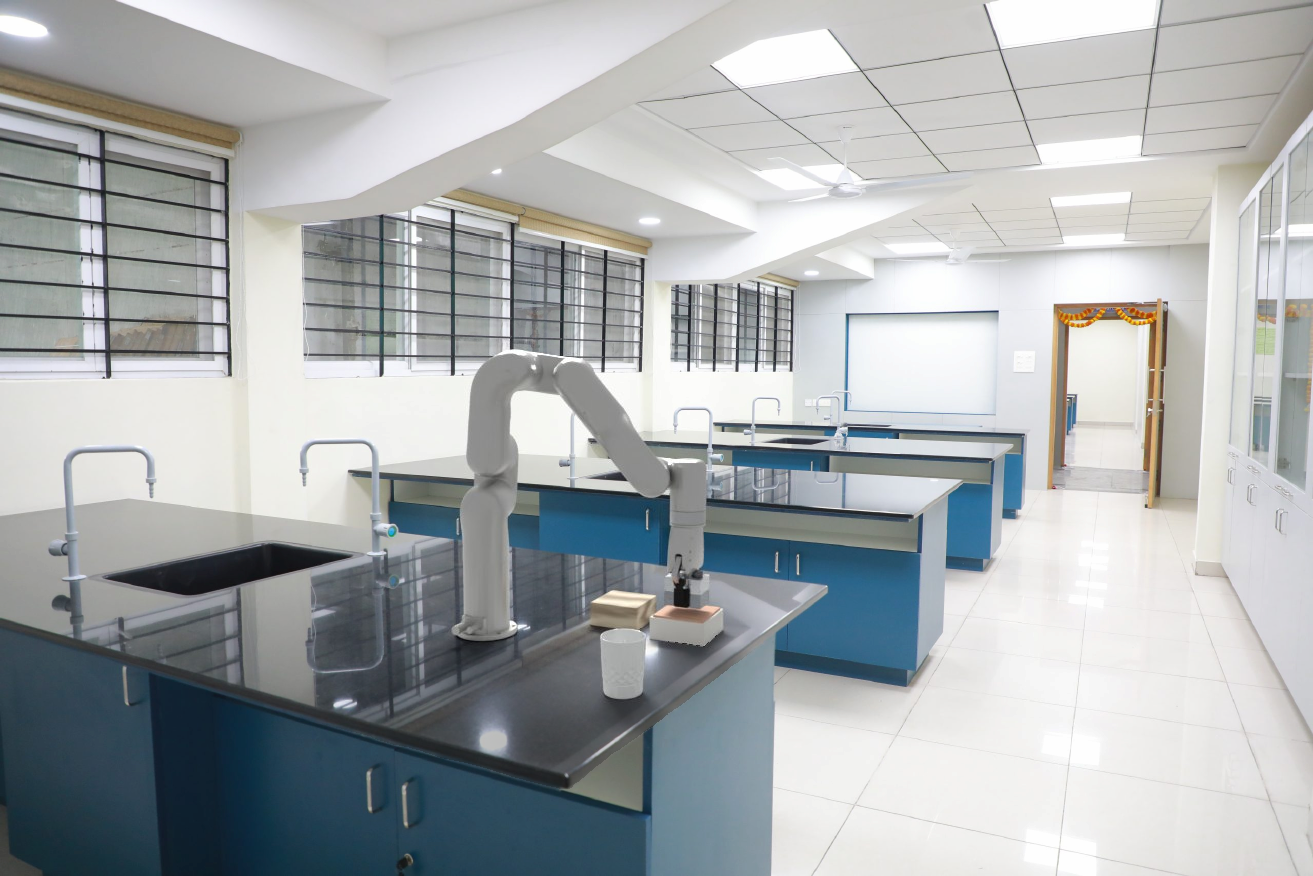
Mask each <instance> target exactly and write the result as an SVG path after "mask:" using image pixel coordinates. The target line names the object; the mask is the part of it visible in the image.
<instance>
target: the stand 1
mask: <svg viewBox="0 0 1313 876" xmlns="http://www.w3.org/2000/svg"><path fill="white" fill-rule="evenodd" d="M657 597H658V596H657V595H655V594H647V593H640V592H630V591H622V590H621V591H620V590H609V592H607V593H605V594H603V595H601V596H599V597H597V598H595V599H594V600H592V601H590V603H589V605H590V607H589V608H590V610H589V611H590V616H589V617H590V620H589V622H590V623H589V624H590V625H591V626H596V627H602V628H603V627H604V628H609V629H634V630H638V631H640V630H641V629H642V628H643V627H645V626H646V625H647V624H650V617H651V616H652V615H653V614H655V613H656V612H658V609H657V606H658V605H657V604H658V603H657V601H658V599H657ZM640 628H641V629H640Z"/></svg>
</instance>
